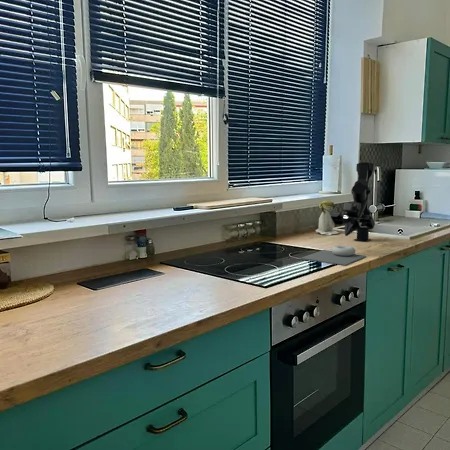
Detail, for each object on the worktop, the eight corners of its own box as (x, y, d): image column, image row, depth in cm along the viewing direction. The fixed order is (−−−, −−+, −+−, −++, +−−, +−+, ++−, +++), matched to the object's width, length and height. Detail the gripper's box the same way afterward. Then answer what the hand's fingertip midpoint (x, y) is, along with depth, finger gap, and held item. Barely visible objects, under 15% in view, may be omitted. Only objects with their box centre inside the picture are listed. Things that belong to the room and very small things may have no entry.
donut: (359, 245, 194) (350, 250, 186) (358, 253, 194) (350, 258, 186) (337, 243, 200) (327, 247, 192) (337, 250, 200) (327, 255, 192)
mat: (324, 250, 203) (324, 249, 203) (366, 256, 190) (366, 255, 190) (301, 258, 188) (301, 257, 188) (345, 265, 175) (345, 264, 175)
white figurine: (319, 235, 241) (320, 202, 238) (312, 231, 254) (313, 199, 251) (341, 235, 242) (341, 201, 239) (333, 231, 255) (334, 199, 252)
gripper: (333, 194, 201) (320, 222, 195) (373, 197, 189) (361, 226, 183) (340, 210, 208) (328, 237, 202) (379, 213, 196) (368, 241, 190)
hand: (345, 235), depth 194 cm, fingers closed
